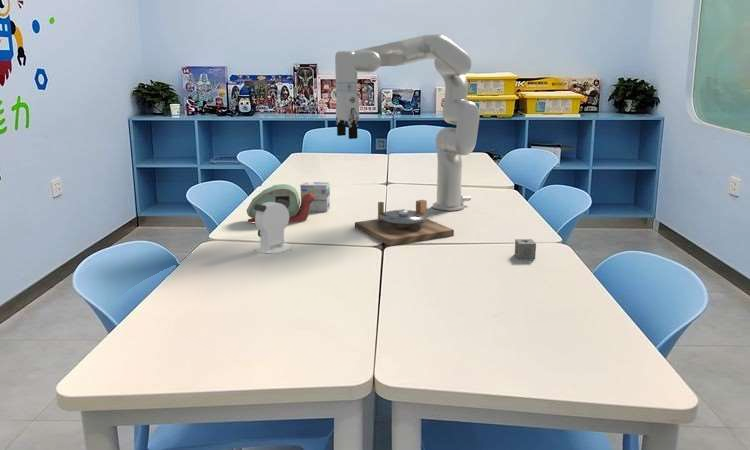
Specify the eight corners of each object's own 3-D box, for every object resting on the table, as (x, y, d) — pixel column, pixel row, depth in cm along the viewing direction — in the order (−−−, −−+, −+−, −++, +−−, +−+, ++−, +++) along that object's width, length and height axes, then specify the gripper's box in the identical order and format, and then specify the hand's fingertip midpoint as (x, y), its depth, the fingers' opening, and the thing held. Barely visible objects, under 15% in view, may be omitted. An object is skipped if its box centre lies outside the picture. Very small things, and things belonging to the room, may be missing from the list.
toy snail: (246, 225, 234) (244, 187, 230) (247, 219, 241) (245, 183, 237) (315, 222, 237) (314, 185, 233) (314, 217, 244) (313, 181, 240)
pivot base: (415, 219, 241) (415, 195, 238) (453, 235, 219) (454, 209, 217) (354, 227, 229) (354, 203, 227) (389, 245, 208) (389, 218, 206)
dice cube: (530, 254, 199) (531, 239, 198) (535, 259, 194) (536, 243, 193) (514, 254, 199) (515, 239, 198) (518, 259, 194) (519, 243, 193)
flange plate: (403, 227, 212) (403, 212, 211) (370, 218, 224) (370, 204, 222) (440, 217, 224) (441, 203, 223) (407, 209, 236) (407, 196, 234)
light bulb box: (330, 208, 258) (330, 181, 255) (327, 212, 252) (327, 184, 249) (304, 207, 259) (303, 181, 256) (300, 211, 253) (299, 184, 250)
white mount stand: (275, 240, 214) (273, 196, 210) (299, 247, 207) (298, 201, 203) (247, 249, 205) (244, 203, 201) (271, 256, 198) (269, 208, 194)
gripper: (367, 88, 219) (367, 139, 224) (346, 86, 234) (346, 133, 239) (347, 89, 216) (347, 140, 221) (326, 86, 231) (327, 134, 236)
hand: (347, 137), depth 230 cm, fingers open, 9 cm apart
